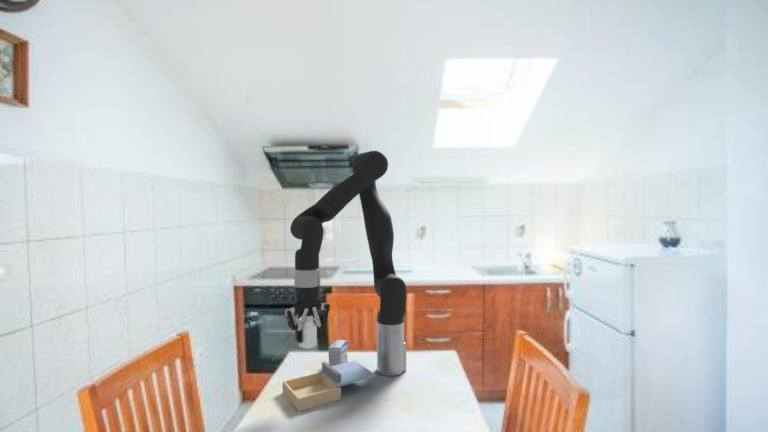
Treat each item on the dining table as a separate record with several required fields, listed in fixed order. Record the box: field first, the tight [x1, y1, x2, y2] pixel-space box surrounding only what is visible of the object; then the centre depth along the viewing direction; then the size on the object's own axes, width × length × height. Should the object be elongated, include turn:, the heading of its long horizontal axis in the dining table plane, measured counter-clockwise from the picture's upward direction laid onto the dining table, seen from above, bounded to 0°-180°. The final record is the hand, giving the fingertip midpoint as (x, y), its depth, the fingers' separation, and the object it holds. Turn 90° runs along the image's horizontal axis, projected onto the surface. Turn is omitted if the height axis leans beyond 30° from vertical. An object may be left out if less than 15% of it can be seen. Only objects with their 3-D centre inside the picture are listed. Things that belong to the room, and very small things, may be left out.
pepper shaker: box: [298, 315, 318, 350], centre depth 123 cm, size 4×4×10 cm
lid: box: [318, 360, 376, 387], centre depth 130 cm, size 13×13×3 cm
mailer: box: [282, 371, 342, 412], centre depth 124 cm, size 13×13×4 cm
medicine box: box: [328, 339, 348, 366], centre depth 144 cm, size 8×4×9 cm, turn 168°
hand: (308, 340), depth 123 cm, fingers closed on pepper shaker, 4 cm apart
